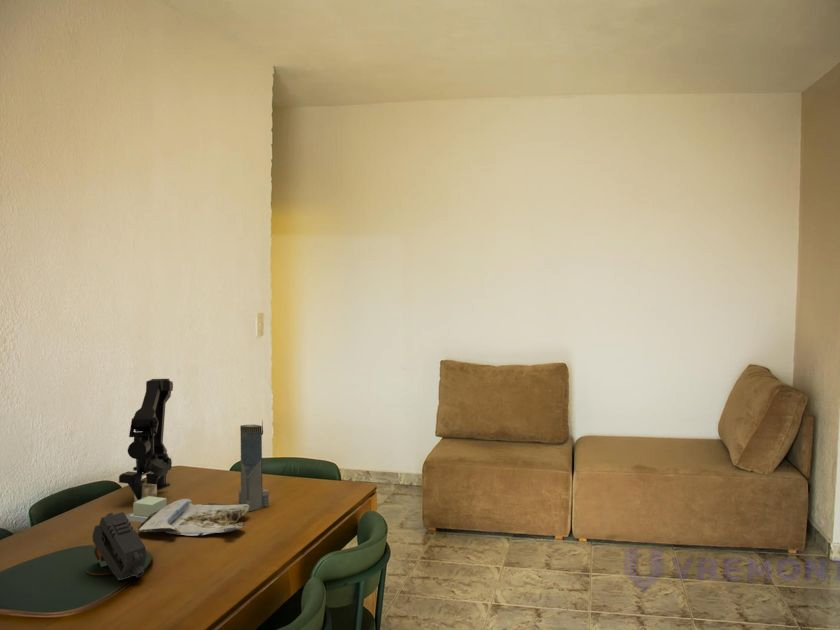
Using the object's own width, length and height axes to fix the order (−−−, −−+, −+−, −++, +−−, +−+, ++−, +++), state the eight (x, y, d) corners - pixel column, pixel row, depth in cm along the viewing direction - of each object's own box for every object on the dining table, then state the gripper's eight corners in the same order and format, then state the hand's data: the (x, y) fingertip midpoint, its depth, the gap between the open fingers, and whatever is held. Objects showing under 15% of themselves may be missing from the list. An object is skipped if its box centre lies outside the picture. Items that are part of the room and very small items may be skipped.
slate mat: (152, 504, 230) (151, 502, 230) (182, 508, 226) (182, 506, 226) (116, 520, 215) (116, 518, 215) (148, 524, 211) (148, 523, 211)
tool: (108, 546, 186) (121, 504, 181) (141, 600, 176) (156, 557, 170) (85, 553, 181) (98, 510, 176) (117, 608, 171) (132, 564, 166)
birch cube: (144, 497, 238) (144, 483, 237) (157, 499, 236) (156, 484, 236) (134, 502, 233) (134, 487, 233) (146, 503, 231) (146, 488, 231)
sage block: (148, 508, 225) (148, 496, 225) (166, 510, 223) (166, 498, 222) (133, 515, 218) (133, 502, 218) (151, 517, 216) (151, 504, 216)
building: (271, 503, 231) (270, 414, 230) (262, 512, 222) (262, 419, 221) (241, 502, 232) (240, 413, 231) (231, 511, 223) (230, 418, 222)
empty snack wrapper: (238, 545, 198) (238, 527, 197) (132, 543, 197) (131, 526, 197) (256, 512, 222) (256, 497, 221) (162, 511, 221) (162, 495, 221)
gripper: (145, 460, 222) (146, 508, 223) (182, 447, 240) (183, 491, 241) (117, 457, 226) (118, 504, 226) (156, 444, 243) (157, 488, 244)
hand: (145, 497), depth 234 cm, fingers open, 6 cm apart
